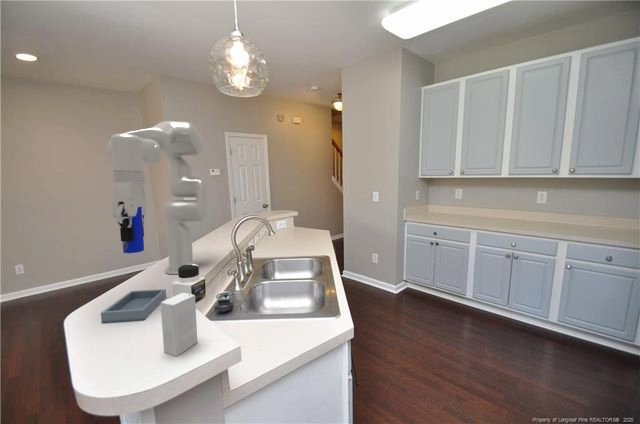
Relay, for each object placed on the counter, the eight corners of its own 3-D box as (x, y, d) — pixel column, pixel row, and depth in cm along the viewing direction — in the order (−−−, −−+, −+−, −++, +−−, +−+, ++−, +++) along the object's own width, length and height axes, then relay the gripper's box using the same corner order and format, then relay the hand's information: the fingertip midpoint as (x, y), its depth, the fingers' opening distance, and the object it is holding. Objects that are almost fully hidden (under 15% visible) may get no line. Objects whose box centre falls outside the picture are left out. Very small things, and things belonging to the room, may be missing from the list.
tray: (131, 299, 89) (131, 291, 88) (166, 297, 90) (165, 289, 90) (101, 323, 73) (100, 312, 73) (143, 320, 75) (143, 310, 75)
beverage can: (122, 252, 80) (119, 203, 79) (142, 250, 84) (139, 202, 82) (124, 256, 77) (120, 204, 75) (145, 253, 80) (142, 203, 79)
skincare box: (184, 338, 66) (182, 291, 65) (198, 342, 64) (196, 294, 63) (162, 352, 60) (159, 301, 59) (176, 357, 59) (173, 305, 58)
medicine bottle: (192, 306, 84) (190, 269, 83) (172, 304, 85) (170, 267, 84) (206, 297, 91) (205, 263, 90) (187, 295, 92) (186, 261, 91)
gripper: (130, 178, 86) (134, 234, 88) (95, 177, 69) (100, 245, 71) (156, 179, 87) (158, 234, 89) (127, 177, 70) (131, 245, 72)
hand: (133, 238), depth 80 cm, fingers closed on beverage can, 5 cm apart
